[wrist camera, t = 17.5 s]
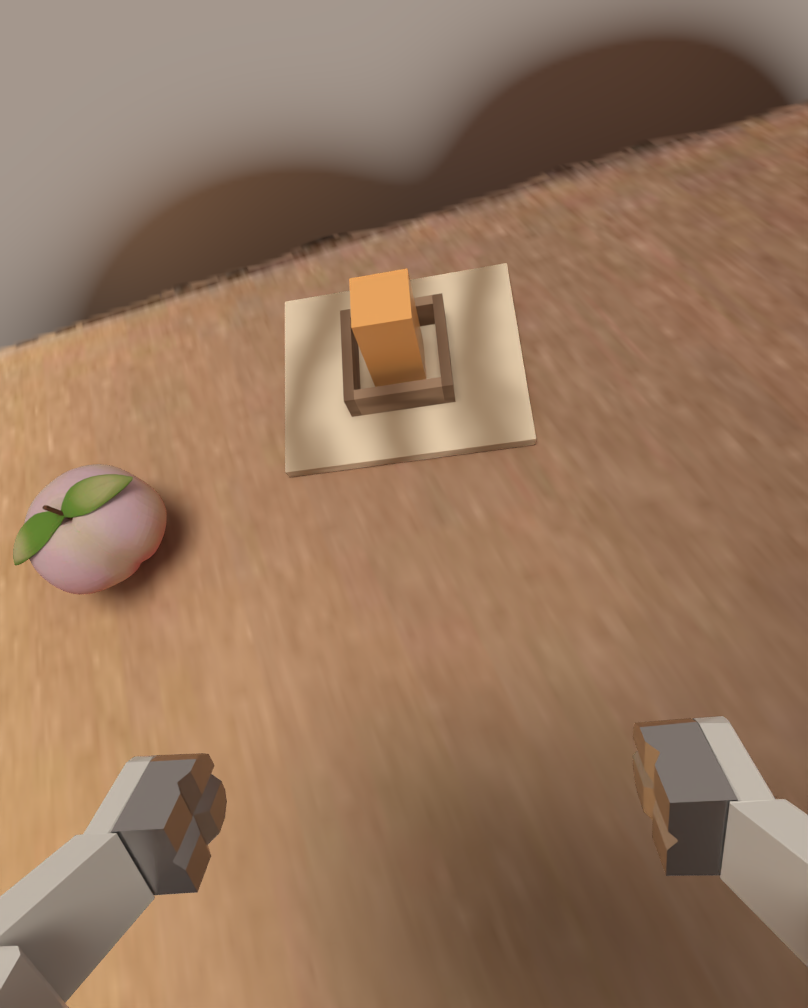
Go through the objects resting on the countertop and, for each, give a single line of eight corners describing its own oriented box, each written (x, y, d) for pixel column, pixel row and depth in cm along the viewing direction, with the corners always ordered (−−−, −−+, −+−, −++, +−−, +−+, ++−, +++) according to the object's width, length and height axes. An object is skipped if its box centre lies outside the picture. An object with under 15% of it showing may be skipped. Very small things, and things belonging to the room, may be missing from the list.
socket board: (506, 271, 47) (506, 239, 44) (535, 444, 42) (538, 423, 38) (289, 309, 49) (274, 282, 46) (289, 477, 44) (272, 459, 41)
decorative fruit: (154, 471, 46) (66, 414, 37) (212, 535, 43) (133, 491, 34) (66, 553, 45) (-47, 515, 36) (121, 624, 42) (13, 604, 33)
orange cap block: (422, 339, 45) (407, 268, 37) (427, 383, 44) (411, 318, 36) (374, 347, 45) (349, 278, 38) (376, 390, 44) (351, 328, 37)
